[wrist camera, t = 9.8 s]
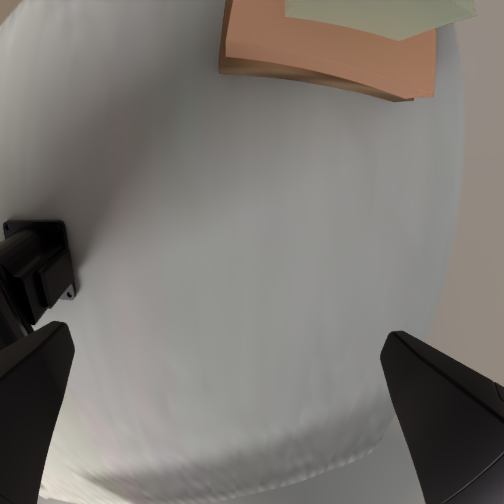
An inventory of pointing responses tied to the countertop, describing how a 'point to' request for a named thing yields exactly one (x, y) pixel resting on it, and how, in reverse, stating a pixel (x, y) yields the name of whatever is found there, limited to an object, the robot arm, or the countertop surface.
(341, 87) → the walnut base brick
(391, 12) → the sage green brick
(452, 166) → the countertop surface
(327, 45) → the terracotta top brick
